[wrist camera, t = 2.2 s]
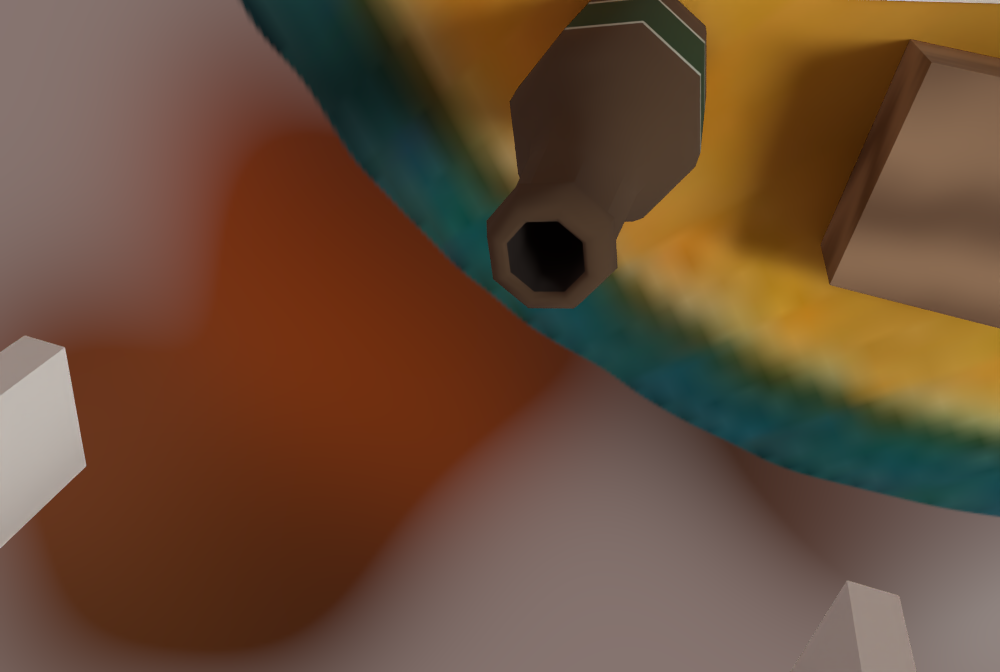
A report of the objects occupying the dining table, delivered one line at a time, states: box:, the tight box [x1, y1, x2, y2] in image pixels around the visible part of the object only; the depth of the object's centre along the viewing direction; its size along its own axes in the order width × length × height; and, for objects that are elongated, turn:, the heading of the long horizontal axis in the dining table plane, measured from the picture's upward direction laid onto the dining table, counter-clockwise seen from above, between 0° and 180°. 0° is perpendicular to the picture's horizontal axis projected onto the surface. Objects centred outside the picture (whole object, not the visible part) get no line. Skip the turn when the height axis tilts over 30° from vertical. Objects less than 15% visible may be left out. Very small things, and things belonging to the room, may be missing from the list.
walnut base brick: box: [821, 39, 1000, 328], centre depth 38 cm, size 11×11×5 cm
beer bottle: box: [487, 0, 706, 308], centre depth 31 cm, size 8×8×24 cm
